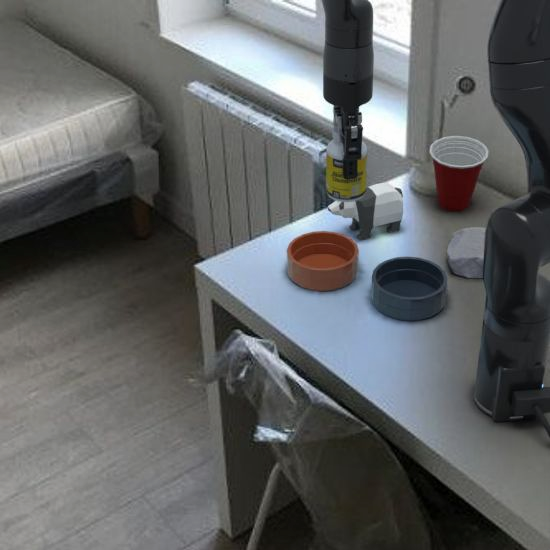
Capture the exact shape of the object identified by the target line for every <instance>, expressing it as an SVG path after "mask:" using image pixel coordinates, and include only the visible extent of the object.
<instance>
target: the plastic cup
mask: <svg viewBox="0 0 550 550" xmlns="http://www.w3.org/2000/svg"><path fill="white" fill-rule="evenodd" d="M429 154H430V156H431V158H432V163H433V168H434V179H435V186H436V191H437V192H436V193H437V201H438V205H439V207H440V208H442V209H443V210H445V211H447V212H453V213H457V212H462V211H465V210H467V209H468V208H469V206H470V205H471V201H472V198H473V194H474V192H475V189H476V185H477V181H478V179H479V175H480V173H481V170H482V168H483V165H484V163H485V161H486V160H487V159H488V157H489V149H488V147H487V146H486V144H484V143H483V142H481V141H480V140H478V139H475V138H472V137H469V136H463V135H450V136H443V137H441V138H439V139H436V140H434V142H433V143H432V144H430V147H429Z"/></svg>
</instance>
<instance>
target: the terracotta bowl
mask: <svg viewBox="0 0 550 550" xmlns="http://www.w3.org/2000/svg"><path fill="white" fill-rule="evenodd" d="M359 255H360V250H359V247H358V244H357V243H356V242H355V241H354V239H352V238H351V237H349V236H347V235H346V234H343V233H340V232H336V231H329V230H319V231H318V230H317V231H310V232H307V233H306V232H305V233H303V234H301V235H298V236H296V237H294V238H293V239H292V240H291V241H290V243H288V246H287V248H286V268H287V269H286V270H287V275H288V277H289V278H290V280H291V282H293V283H295V284H296V285H298V286H300V287H302V288H304V289H307V290H311V291H318V292H329V291H335V290H339V289H341V288H344V287H347V286H348V285H349V284H351V283H353V281H354V280H355V279H356V278H357V276H358V273H359V259H360V258H359Z"/></svg>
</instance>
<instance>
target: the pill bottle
mask: <svg viewBox="0 0 550 550" xmlns="http://www.w3.org/2000/svg"><path fill="white" fill-rule="evenodd" d="M363 131H364V129H363V130H362V137H363V135H364V134H363ZM331 135H332V139H331V140H330V141H329V142H328V144H327V145H326V158H325V160H326V161H325V162H326V163H325V165H326V166H325V167H326V168H325V192H326V194H327V197H329V198H330V199H331V200H333V201H335V200H336V201H340V202H353V201H357V200H359V199H361V198H362V197H363V196H364V195H365V192H366V188H367V172H368V146H367V144H366V142H364V141H363V140H362V152H361V154H362V157H361V160H358V164H357V178H355V179H344V178H343V157H342V144H341V143H339V140H338V126H337V125H336V126H334V125H333V127H332V134H331ZM342 135H343V137H344V138H345V135H344V134H342ZM349 150H355V148H349Z"/></svg>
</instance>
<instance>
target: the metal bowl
mask: <svg viewBox="0 0 550 550" xmlns="http://www.w3.org/2000/svg"><path fill="white" fill-rule="evenodd" d="M448 278H449V277H448V275H447V272H446V271H445V270H444V269H443V268H442V267H441V266H440V265H439V264H437V263H436V262H433V261H431V260H429V259H425V258H423V257H417V256H397V257H392V258H388V259H386V260H384V261H382V262H381V263H379V264H377V265H376V266H375V267H374V269H373V270H372V274H371V287H370V298H371V302H372V304H373V305H374V307H375V308H376V309H377V310H378V311H379V312H380V313H382V314H384V315H385V316H387V317H390V318H392V319H396V320H400V321H401V320H402V321H420V320H425V319H429V318H431V317H434V316H435V315H436V314H438V313H440V312H441V311H442V310H443V308H444V307H445V306H446V299H447V290H448V289H447V288H448Z"/></svg>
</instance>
